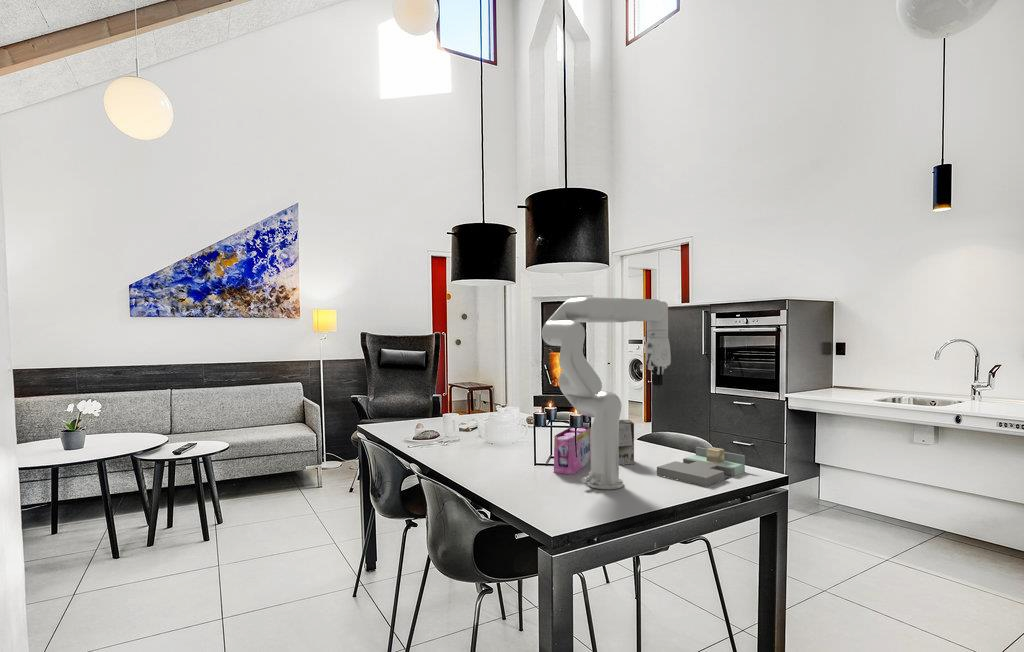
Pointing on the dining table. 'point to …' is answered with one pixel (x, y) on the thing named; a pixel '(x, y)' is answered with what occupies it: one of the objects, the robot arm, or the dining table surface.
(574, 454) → the gum box
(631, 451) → the coffee box
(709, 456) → the block
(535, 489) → the dining table surface
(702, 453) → the board
